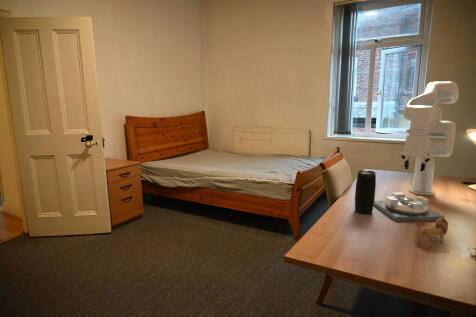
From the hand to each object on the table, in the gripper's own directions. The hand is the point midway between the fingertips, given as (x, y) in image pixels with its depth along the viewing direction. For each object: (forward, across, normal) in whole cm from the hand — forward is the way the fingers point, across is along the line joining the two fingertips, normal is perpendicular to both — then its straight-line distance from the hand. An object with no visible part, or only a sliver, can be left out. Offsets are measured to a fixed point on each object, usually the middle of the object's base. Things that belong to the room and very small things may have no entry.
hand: (414, 169), depth 147 cm
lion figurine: (+20, +16, -35) cm, 44 cm away
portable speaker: (+20, -15, -21) cm, 32 cm away
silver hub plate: (+17, 0, -7) cm, 19 cm away
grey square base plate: (+20, 0, -7) cm, 21 cm away
